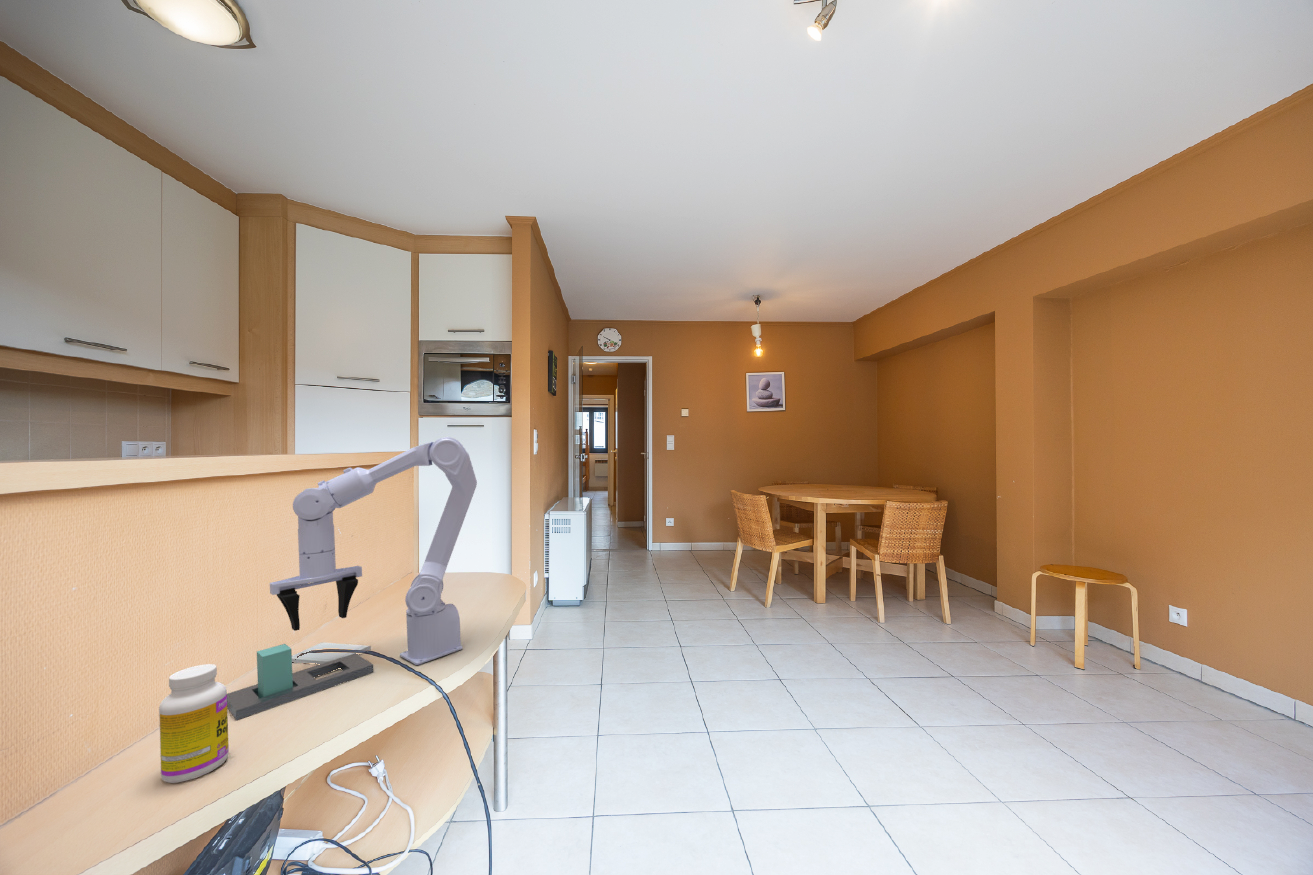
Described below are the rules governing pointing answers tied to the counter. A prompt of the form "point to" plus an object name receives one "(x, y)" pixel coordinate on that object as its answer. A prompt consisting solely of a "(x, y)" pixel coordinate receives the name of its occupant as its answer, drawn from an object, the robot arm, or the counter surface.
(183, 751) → the supplement bottle
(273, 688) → the teal peg
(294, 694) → the steel rail
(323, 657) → the hard drive
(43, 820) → the counter surface
